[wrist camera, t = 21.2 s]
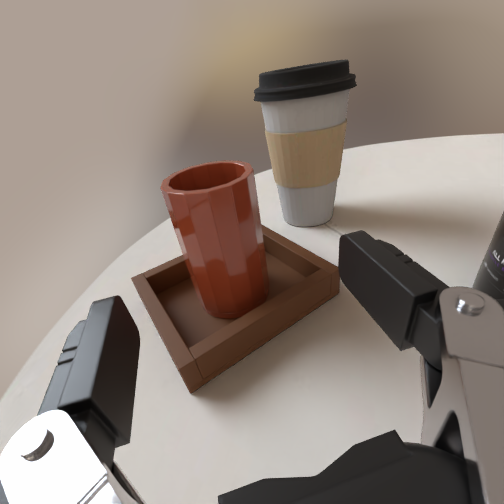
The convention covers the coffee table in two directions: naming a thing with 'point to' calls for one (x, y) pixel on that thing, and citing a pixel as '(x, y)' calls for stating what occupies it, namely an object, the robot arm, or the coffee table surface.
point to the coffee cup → (306, 135)
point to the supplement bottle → (493, 266)
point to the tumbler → (220, 235)
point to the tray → (237, 329)
